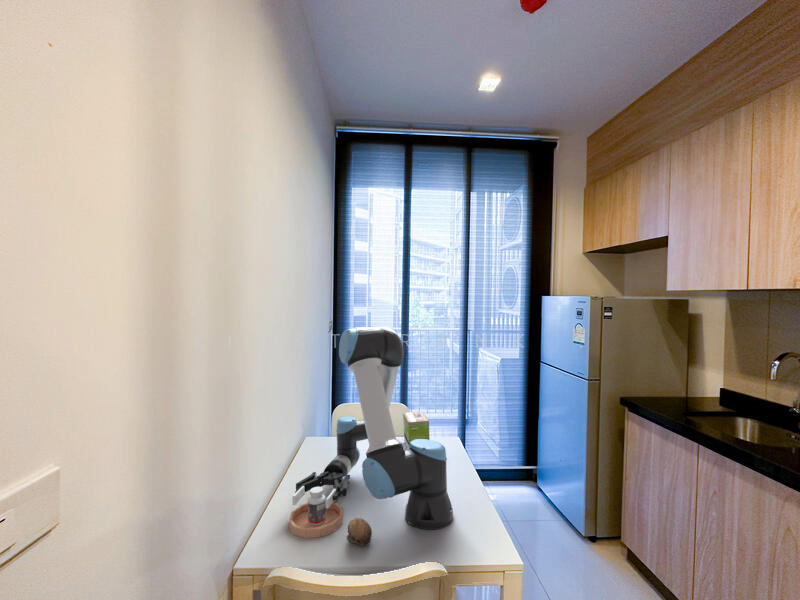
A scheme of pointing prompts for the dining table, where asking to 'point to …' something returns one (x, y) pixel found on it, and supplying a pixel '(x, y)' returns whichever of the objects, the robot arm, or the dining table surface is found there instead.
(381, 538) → the dining table surface
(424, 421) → the tea box
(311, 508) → the pill bottle
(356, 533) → the mushroom
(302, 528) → the bowl
